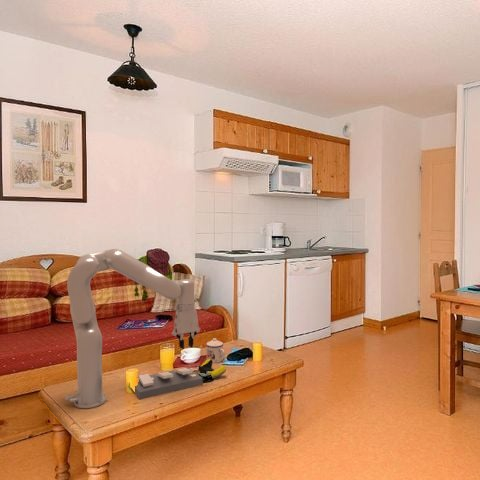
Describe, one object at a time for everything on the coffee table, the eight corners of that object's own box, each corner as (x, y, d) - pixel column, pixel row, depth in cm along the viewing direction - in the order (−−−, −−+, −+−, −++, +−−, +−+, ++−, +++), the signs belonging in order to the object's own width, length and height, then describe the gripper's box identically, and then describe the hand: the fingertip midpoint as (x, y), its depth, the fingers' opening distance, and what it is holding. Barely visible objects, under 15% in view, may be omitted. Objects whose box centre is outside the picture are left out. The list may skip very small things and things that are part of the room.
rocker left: (143, 386, 173) (143, 384, 172) (136, 375, 181) (136, 372, 181) (153, 384, 175) (153, 381, 175) (146, 373, 183) (146, 370, 183)
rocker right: (183, 374, 182) (182, 371, 182) (175, 371, 190) (174, 368, 190) (192, 372, 184) (191, 369, 184) (183, 369, 192) (183, 366, 192)
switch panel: (139, 399, 169) (139, 390, 168) (128, 385, 182) (128, 377, 182) (202, 384, 183) (202, 376, 183) (188, 373, 197) (188, 365, 197)
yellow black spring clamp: (210, 368, 204) (193, 373, 198) (210, 357, 204) (193, 362, 198) (228, 377, 193) (210, 382, 186) (228, 365, 192) (210, 370, 186)
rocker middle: (163, 378, 177) (163, 375, 177) (156, 375, 186) (156, 372, 186) (173, 376, 179) (173, 373, 179) (165, 373, 188) (165, 370, 188)
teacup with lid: (202, 360, 216) (202, 338, 215) (215, 356, 223) (215, 335, 222) (217, 365, 208) (217, 343, 207) (230, 361, 214) (230, 339, 214)
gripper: (171, 310, 175) (172, 352, 176) (206, 306, 183) (206, 346, 184) (165, 307, 181) (165, 348, 182) (199, 303, 190) (199, 342, 191)
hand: (186, 346), depth 183 cm, fingers open, 3 cm apart
